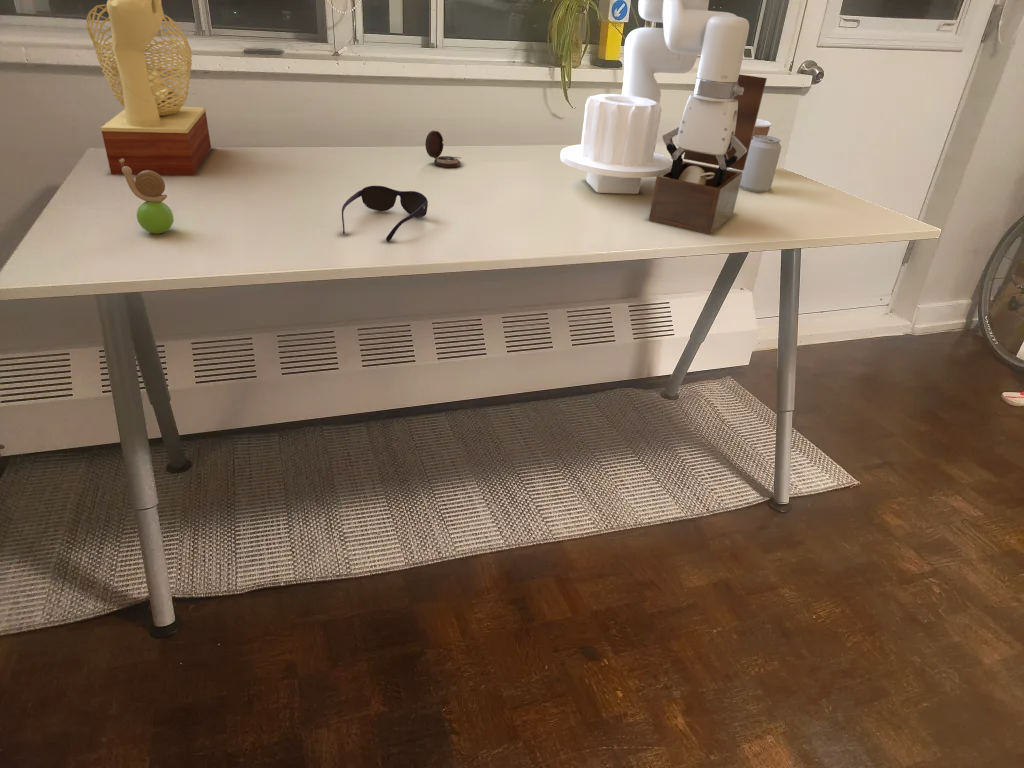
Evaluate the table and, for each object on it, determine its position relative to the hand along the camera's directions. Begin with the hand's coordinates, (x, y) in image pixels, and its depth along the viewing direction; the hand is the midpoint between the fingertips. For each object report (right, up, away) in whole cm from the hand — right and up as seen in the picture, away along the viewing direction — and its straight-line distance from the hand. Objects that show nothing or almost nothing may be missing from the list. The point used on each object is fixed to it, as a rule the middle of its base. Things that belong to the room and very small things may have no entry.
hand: (695, 183), depth 141 cm
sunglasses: (-60, -11, -12) cm, 62 cm away
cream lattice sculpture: (-114, +9, +14) cm, 115 cm away
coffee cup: (+24, +17, +46) cm, 54 cm away
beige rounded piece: (-1, -2, +2) cm, 2 cm away
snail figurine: (-97, -15, -22) cm, 100 cm away
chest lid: (+6, +14, +3) cm, 15 cm away
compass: (-52, +13, +29) cm, 61 cm away
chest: (+1, -5, +6) cm, 8 cm away
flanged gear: (-14, +5, +21) cm, 26 cm away
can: (+22, +7, +29) cm, 37 cm away
